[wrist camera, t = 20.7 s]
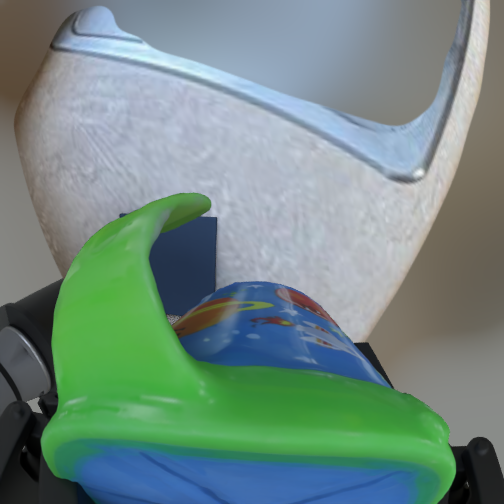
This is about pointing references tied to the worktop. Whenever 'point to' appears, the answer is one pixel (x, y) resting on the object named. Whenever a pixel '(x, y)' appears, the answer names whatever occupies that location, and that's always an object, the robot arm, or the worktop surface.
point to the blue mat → (185, 264)
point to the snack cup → (223, 391)
